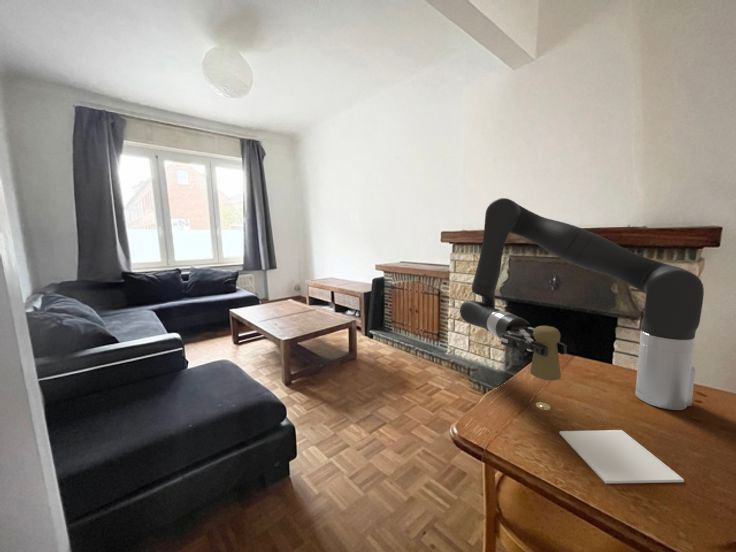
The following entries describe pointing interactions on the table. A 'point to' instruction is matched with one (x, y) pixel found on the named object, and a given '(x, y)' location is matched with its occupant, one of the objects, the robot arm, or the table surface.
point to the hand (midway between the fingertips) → (555, 351)
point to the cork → (550, 364)
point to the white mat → (619, 457)
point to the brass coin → (543, 406)
